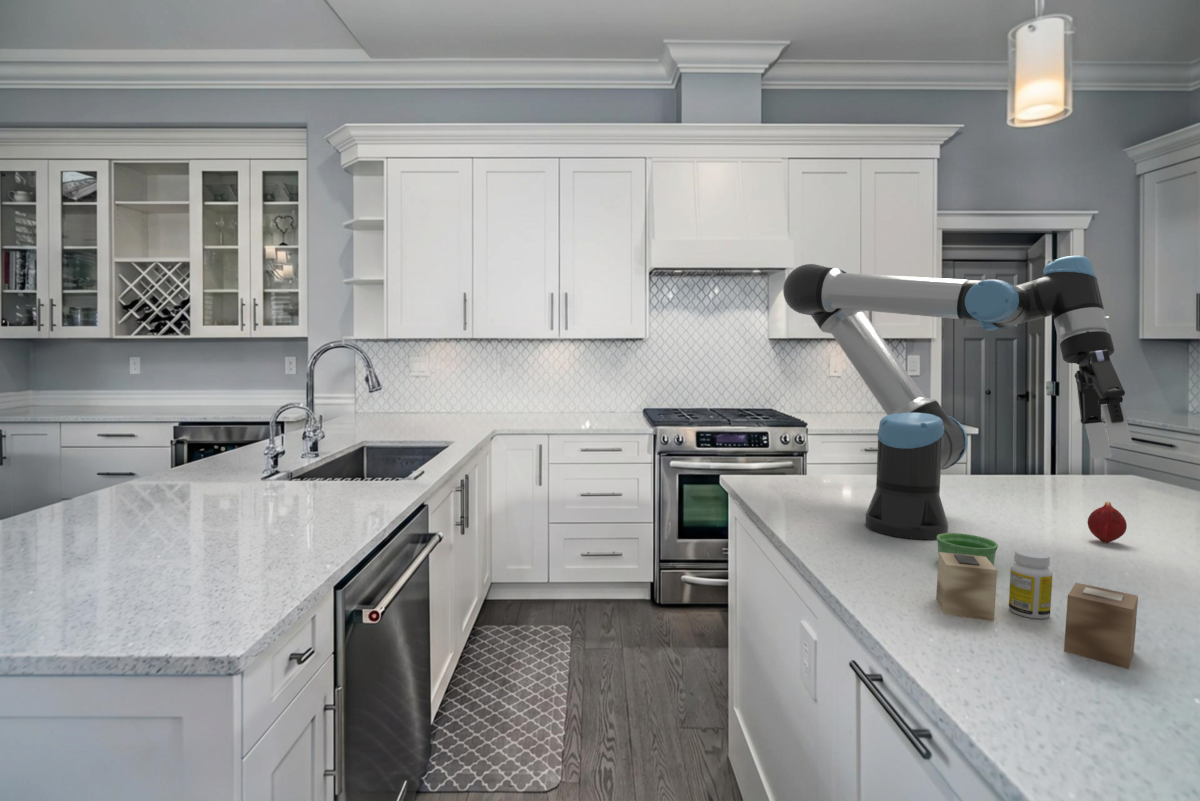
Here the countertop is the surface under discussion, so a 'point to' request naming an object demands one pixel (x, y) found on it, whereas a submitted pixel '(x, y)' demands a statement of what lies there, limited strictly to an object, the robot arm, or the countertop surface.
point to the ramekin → (967, 545)
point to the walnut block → (1101, 624)
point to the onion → (1107, 523)
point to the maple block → (966, 586)
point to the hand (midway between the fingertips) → (1111, 451)
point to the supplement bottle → (1030, 584)
